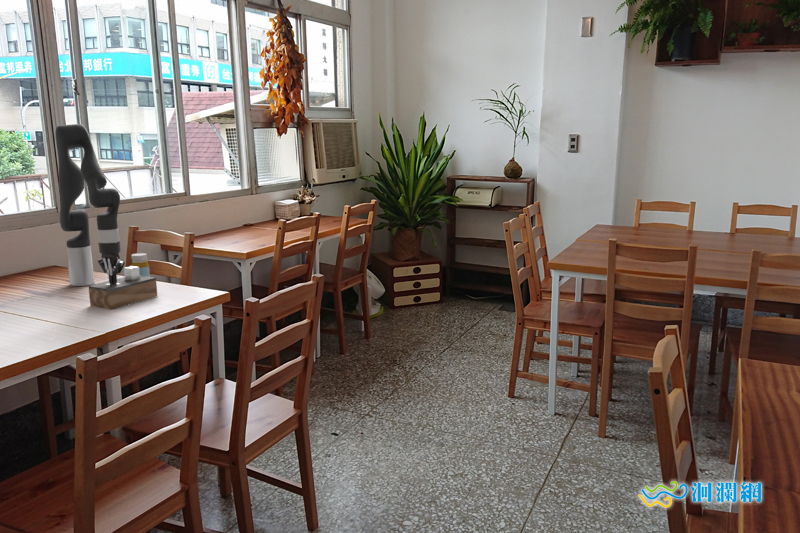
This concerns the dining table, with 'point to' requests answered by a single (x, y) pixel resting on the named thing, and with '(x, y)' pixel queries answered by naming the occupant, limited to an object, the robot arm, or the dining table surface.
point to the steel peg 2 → (131, 273)
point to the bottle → (141, 263)
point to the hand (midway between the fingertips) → (113, 283)
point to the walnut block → (122, 292)
